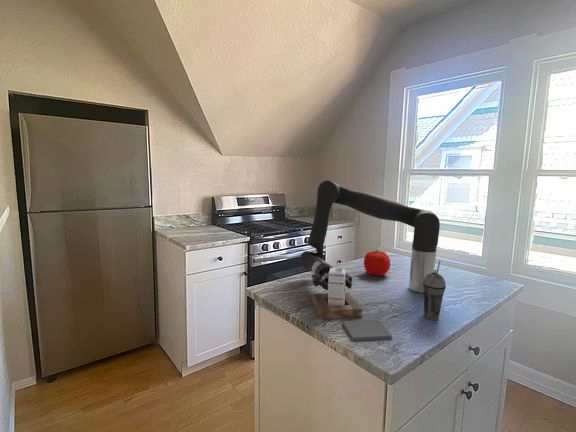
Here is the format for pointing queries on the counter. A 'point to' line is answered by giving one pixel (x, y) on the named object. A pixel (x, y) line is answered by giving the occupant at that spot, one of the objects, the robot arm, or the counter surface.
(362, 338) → the charcoal rubber mat
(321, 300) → the walnut socket stand
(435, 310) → the beverage cup
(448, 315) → the counter surface
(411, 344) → the counter surface
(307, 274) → the counter surface
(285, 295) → the counter surface
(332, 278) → the syrup box
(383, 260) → the tomato
